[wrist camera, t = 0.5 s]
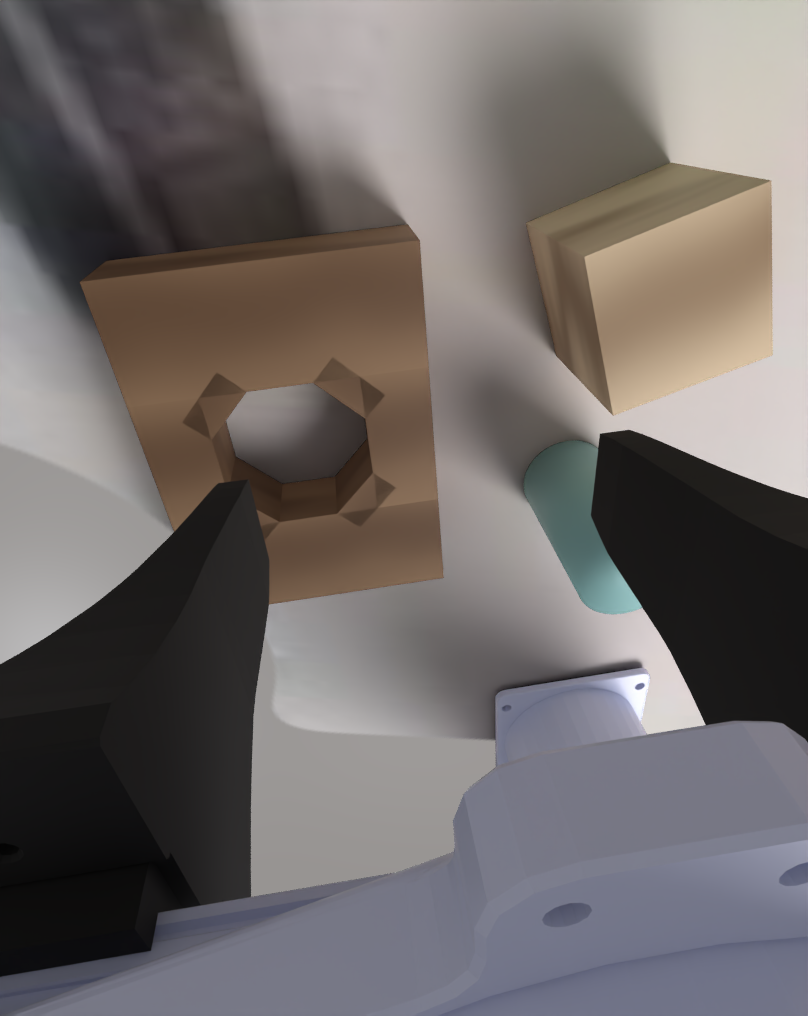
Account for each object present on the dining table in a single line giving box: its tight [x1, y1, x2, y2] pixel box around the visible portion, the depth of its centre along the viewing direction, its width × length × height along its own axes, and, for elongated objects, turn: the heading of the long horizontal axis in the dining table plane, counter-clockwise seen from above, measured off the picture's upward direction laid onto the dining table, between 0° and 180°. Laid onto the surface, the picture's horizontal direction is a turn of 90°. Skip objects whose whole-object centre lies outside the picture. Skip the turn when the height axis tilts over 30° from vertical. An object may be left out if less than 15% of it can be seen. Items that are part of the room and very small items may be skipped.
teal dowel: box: [524, 440, 643, 614], centre depth 22 cm, size 3×3×6 cm
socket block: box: [80, 224, 444, 604], centre depth 21 cm, size 12×9×2 cm
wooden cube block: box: [526, 163, 773, 416], centre depth 18 cm, size 5×5×5 cm
